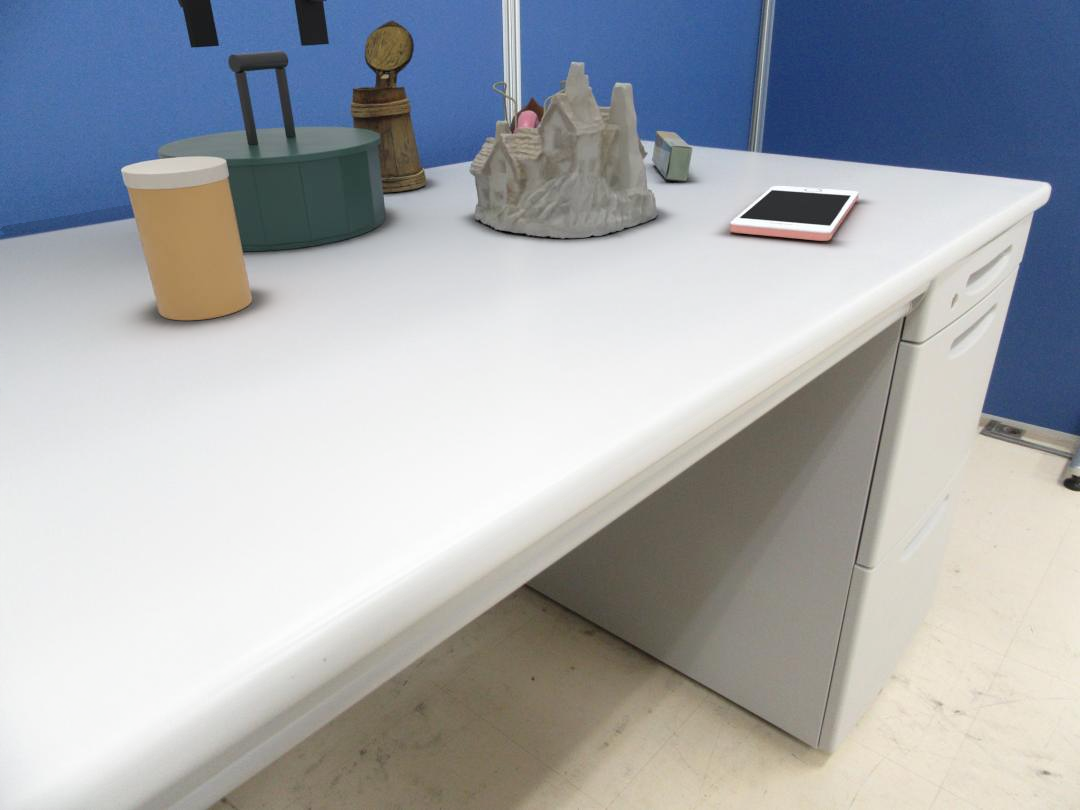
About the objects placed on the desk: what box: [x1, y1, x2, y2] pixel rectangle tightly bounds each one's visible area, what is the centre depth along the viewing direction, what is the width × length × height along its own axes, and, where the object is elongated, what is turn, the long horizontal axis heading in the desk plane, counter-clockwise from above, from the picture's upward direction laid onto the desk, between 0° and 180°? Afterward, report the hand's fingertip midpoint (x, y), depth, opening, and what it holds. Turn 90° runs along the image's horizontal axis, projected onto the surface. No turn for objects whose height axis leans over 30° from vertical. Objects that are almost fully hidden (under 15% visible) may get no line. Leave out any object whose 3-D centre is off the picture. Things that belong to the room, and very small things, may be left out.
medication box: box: [651, 130, 693, 183], centre depth 98 cm, size 12×3×4 cm, turn 1°
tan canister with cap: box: [120, 156, 253, 321], centre depth 55 cm, size 7×7×10 cm
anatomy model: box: [492, 80, 567, 134], centre depth 100 cm, size 10×14×15 cm
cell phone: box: [729, 185, 860, 242], centre depth 77 cm, size 9×18×1 cm, turn 153°
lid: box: [157, 50, 381, 166], centre depth 74 cm, size 20×20×9 cm
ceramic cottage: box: [469, 61, 659, 240], centre depth 76 cm, size 16×16×15 cm
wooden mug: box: [350, 20, 427, 194], centre depth 94 cm, size 9×14×18 cm, turn 175°
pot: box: [227, 145, 387, 252], centre depth 78 cm, size 19×19×8 cm
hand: (258, 46), depth 72 cm, fingers open, 13 cm apart
